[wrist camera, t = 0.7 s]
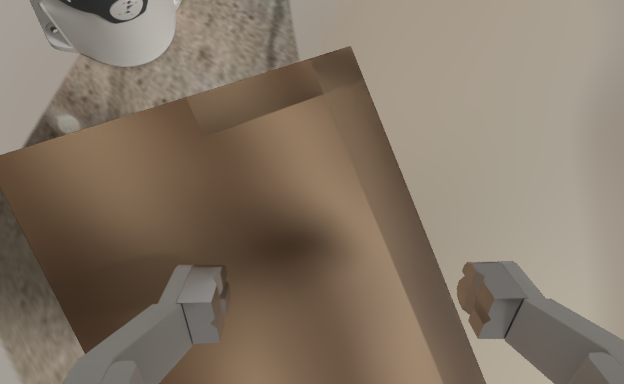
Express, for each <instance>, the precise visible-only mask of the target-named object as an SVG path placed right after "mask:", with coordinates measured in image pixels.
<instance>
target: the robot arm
mask: <svg viewBox="0 0 624 384" xmlns="http://www.w3.org/2000/svg"><path fill="white" fill-rule="evenodd" d="M181 1H182V0H30V2H31V4H32V7H33V9H34V11H35V13H36V15H37V17H38V20H39V22H40V24H41V26H42V29H43V31H44V33H45V35H46V37H47V39H48V41H49V43H50V44H51V45H52V47H54V48H55V49H58V50H61V51H67V52H76V53H81V54H84V55H86V56H89V57H91V58H93V59H95V60H97V61H99V62H102V63H105V64H109V65H114V66H123V67H128V66H137V65H142V64H145V63H148V62H150V61H152V60H154V59H156V58H157V57H159V56H160V55H161V54H162V53H163V52H164V51H165V50H166V49H167V48H168V46H169V45H170V43H171V41H172V39H173V36H174V32H175V16H176V11H177V9H178V7H179V5H180V3H181ZM54 29H58V32H56V33H53V30H54ZM462 271H463V273H464V275H465V276H464V277H463V278H462V279H461V280H459V283H458V286H457V297H458V300H459V303H460V305H461V307H462V309H463V310H464V311H466V312H467V313H468V314H470V317H469V323H470V324H471V326H472V328H473V330H474V332H475V334H476V336H477V338H478V339H505V341H506V342H507V343H508V344H510V345H511V346H512V347H513V348H514V349H515V350H516V351H517V352H519V353H520V354H521V355H522V356H523V357H524V358H525V359H527V360H528V361H529V362H530V363H531V364H532V365H534V366H535V367H536V368H537V369H538V370H539V371H541V372H542V373H543V374H544V375H545V376H546V377H547V378H548V379H550V380H551V381H552V382H553V383H554V384H624V340H622V339H620V338H619V337H617V336H615V335H613V334H612V333H610V332H608V331H606V330H605V329H603V328H601V327H599V326H598V325H596V324H594V323H592V322H591V321H589V320H587V319H585V318H584V317H582V316H580V315H578V314H577V313H575V312H573V311H571V310H570V309H568V308H566V307H564V306H563V305H561V304H559V303H557V302H556V301H554V300H552V299H546V298H545V297H544V296H543V295H542V293H541V292H540V291H539V290H538V288H537V287H536V286H535V285H534V284H533V282H532V281H531V280H530V279H529V278H528V276H527V275H526V274H525V273H524V272H523V270H522V269H521V268H520V267H519V266H518V265H517V263H515V262H513V261H500V262H499V261H498V262H467V263H466V264H465V265H464V268H463V270H462ZM226 277H227V270H226V266H225V265H178V266H177V267H176V268H175V269H174V271H173V273H172V275H171V277H170V280H169V282H168V284H167V286H166V288H165V290H164V292H163V294H162V296H161V298H160V300H159V302H158V304H152V305H151V306H149V307H148V308H147V309H145V310H144V311H143V312H141V313H140V314H139V315H137V316H136V317H135V318H133V319H132V320H131V321H129V322H128V323H127V324H125V325H124V326H123V327H121V328H120V329H119V330H117V331H116V332H114V333H113V334H112V335H110V336H109V337H108V338H106V339H105V340H104V341H102V342H101V343H100V344H98V345H97V346H96V347H94V348H93V349H92V350H90V351H89V352H88V353H86V354H85V355H83V356H82V357H81V358H79V359H78V360H77V361H76V363H75V365H74V366H73V368H72V369H71V371H70V372H69V374H68V376H67V377H66V379H65V380H64V382H63V383H62V384H159V383H160V382H161V381H162V380H163V378H164V377H165V376H166V375H167V374H168V373H169V372H170V371H171V369H172V368H173V367H174V366H175V365H176V364H177V363H178V361H179V360H180V359H181V358H182V357H183V356H184V355H185V354H186V352H187V351H188V350H189V349H190V348H191V347H192V344H204V343H220V341H221V337H222V333H223V329H224V325H225V324H224V318H223V316H224V315H225V314H226V313H228V308H229V302H230V287H229V283H228V282H227V281H226Z"/></svg>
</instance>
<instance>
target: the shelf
mask: <svg viewBox="0 0 624 384" xmlns="http://www.w3.org/2000/svg"><path fill="white" fill-rule="evenodd" d="M0 188H1V190H2V192H3V194H4V196H5V198H6V200H7V202H8V204H9V206H10V208H11V210H12V212H13V213H14V215H15V217H16V219H17V221H18V223H19V225H20V227H21V229H22V231H23V233H24V235H25V237H26V239H27V241H28V243H29V245H30V247H31V249H32V251H33V253H34V255H35V257H36V259H37V260H38V262H39V264H40V266H41V268H42V270H43V272H44V274H45V276H46V278H47V280H48V282H49V284H50V286H51V288H52V290H53V292H54V294H55V296H56V298H57V300H58V302H59V304H60V306H61V307H62V309H63V311H64V313H65V315H66V317H67V319H68V321H69V323H70V325H71V327H72V329H73V331H74V333H75V335H76V337H77V339H78V341H79V343H80V345H81V347H82V349H83V351H84V353H85V354H86V353H88V352H89V351H90V350H92V349H93V348H94V347H96V346H97V345H98V344H100V343H101V342H102V341H104V340H105V339H106V338H108V337H109V336H110V335H112V334H113V333H114V332H116V331H117V330H119V329H120V328H121V327H123V326H124V325H125V324H127V323H128V322H129V321H131V320H132V319H133V318H135V317H136V316H137V315H139V314H140V313H141V312H143V311H144V310H145V309H147V308H148V307H149V306H151V305H152V304H158V302H159V300H160V298H161V296H162V294H163V292H164V290H165V288H166V286H167V284H168V282H169V280H170V277H171V275H172V273H173V271H174V269H175V268H176V267H177V266H178V265H225V266H226V270H227V277H226V281H227V282H228V283H229V287H230V302H229V308H228V313H226V314H225V315H224V316H223V318H224V324H225V325H224V329H223V333H222V337H221V341H220V343H204V344H192V347H191V348H190V349H189V350H188V351H187V352H186V354H185V355H184V356H183V357H182V358H181V359H180V360H179V361H178V363H177V364H176V365H175V366H174V367H173V368H172V369H171V371H170V372H169V373H168V374H167V375H166V376H165V377H164V378H163V380H162V381H161V382H160V383H159V384H486V382H485V380H484V377H483V375H482V373H481V370H480V367H479V365H478V363H477V360H476V358H475V355H474V353H473V350H472V348H471V345H470V343H469V340H468V338H467V335H466V333H465V330H464V328H463V325H462V323H461V320H460V318H459V315H458V313H457V310H456V308H455V305H454V303H453V300H452V298H451V295H450V293H449V290H448V288H447V285H446V283H445V280H444V278H443V275H442V273H441V270H440V268H439V265H438V263H437V260H436V258H435V255H434V253H433V250H432V248H431V245H430V243H429V240H428V238H427V235H426V233H425V230H424V228H423V225H422V223H421V220H420V218H419V215H418V213H417V210H416V208H415V206H414V203H413V200H412V198H411V196H410V193H409V191H408V188H407V185H406V183H405V180H404V178H403V175H402V173H401V170H400V168H399V165H398V163H397V160H396V158H395V156H394V153H393V151H392V148H391V146H390V143H389V140H388V138H387V135H386V133H385V131H384V128H383V125H382V123H381V121H380V118H379V116H378V113H377V111H376V108H375V106H374V103H373V101H372V98H371V96H370V93H369V91H368V88H367V86H366V83H365V81H364V78H363V76H362V73H361V71H360V68H359V66H358V63H357V61H356V58H355V56H354V53H353V51H352V48H351V47H346V48H343V49H340V50H336V51H333V52H330V53H327V54H324V55H320V56H317V57H314V58H311V59H307V60H304V61H301V62H298V63H295V64H291V65H288V66H285V67H282V68H279V69H275V70H272V71H269V72H266V73H263V74H259V75H256V76H253V77H250V78H247V79H243V80H240V81H237V82H234V83H230V84H227V85H224V86H221V87H218V88H214V89H211V90H208V91H205V92H202V93H198V94H195V95H192V96H189V97H186V98H182V99H179V100H176V101H173V102H170V103H166V104H163V105H160V106H157V107H153V108H150V109H147V110H144V111H141V112H137V113H134V114H131V115H128V116H125V117H121V118H118V119H115V120H112V121H109V122H105V123H102V124H99V125H96V126H93V127H89V128H86V129H83V130H80V131H76V132H73V133H70V134H67V135H64V136H60V137H57V138H54V139H51V140H48V141H44V142H41V143H38V144H35V145H32V146H28V147H25V148H22V149H19V150H16V151H13V152H9V153H6V154H3V155H0Z"/></svg>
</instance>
